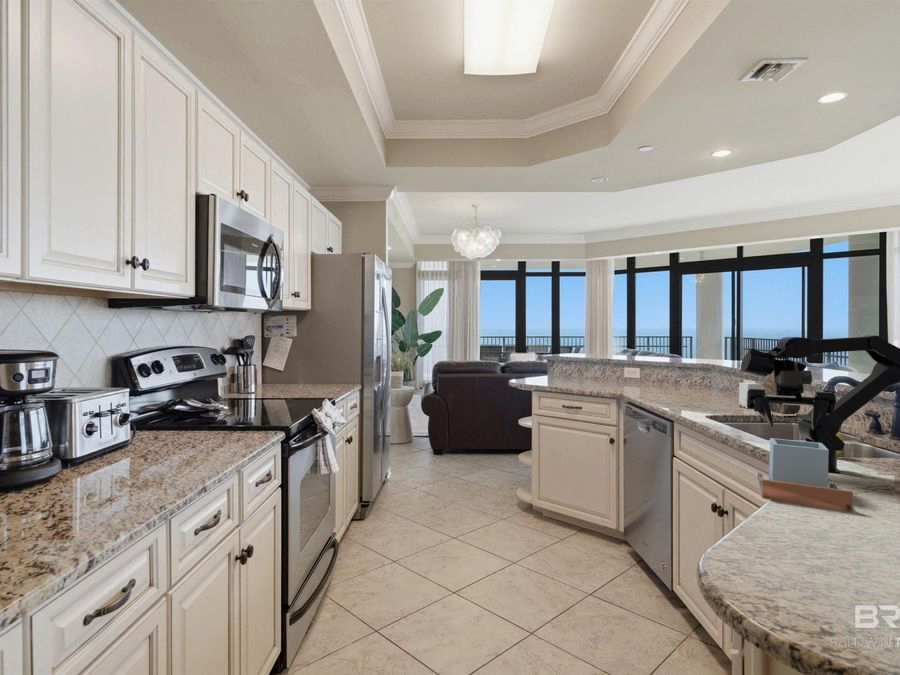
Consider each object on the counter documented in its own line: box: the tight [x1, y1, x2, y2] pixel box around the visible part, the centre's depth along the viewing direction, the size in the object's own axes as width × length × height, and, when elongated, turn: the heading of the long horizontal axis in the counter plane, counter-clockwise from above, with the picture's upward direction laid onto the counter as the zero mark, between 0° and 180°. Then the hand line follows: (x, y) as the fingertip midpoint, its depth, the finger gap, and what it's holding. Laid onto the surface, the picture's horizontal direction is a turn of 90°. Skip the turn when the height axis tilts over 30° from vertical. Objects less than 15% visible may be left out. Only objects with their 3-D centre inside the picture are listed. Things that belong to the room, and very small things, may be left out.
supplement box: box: [738, 382, 763, 405], centre depth 248 cm, size 7×7×13 cm
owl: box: [763, 372, 801, 414], centre depth 227 cm, size 13×13×20 cm
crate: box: [768, 437, 829, 488], centre depth 112 cm, size 8×10×10 cm
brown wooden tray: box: [757, 471, 854, 512], centre depth 108 cm, size 18×15×5 cm
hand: (792, 427), depth 122 cm, fingers open, 8 cm apart
